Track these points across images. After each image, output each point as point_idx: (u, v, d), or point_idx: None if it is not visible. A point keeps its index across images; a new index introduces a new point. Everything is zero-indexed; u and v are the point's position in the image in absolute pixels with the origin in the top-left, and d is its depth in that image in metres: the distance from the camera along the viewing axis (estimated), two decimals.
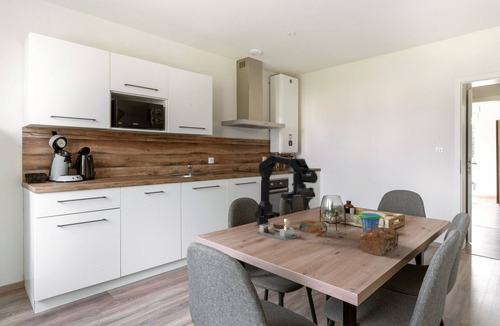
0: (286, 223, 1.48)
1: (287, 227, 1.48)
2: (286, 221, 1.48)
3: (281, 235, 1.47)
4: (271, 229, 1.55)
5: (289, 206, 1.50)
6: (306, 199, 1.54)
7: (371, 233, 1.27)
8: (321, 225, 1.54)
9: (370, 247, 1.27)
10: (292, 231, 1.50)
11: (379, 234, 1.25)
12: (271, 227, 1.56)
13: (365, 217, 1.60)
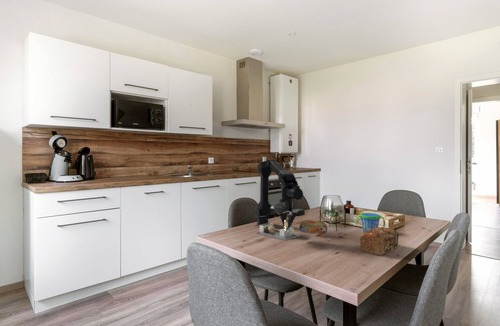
0: (286, 223, 1.48)
1: (287, 227, 1.48)
2: (286, 221, 1.48)
3: (281, 235, 1.47)
4: (271, 229, 1.55)
5: None
6: None
7: (371, 233, 1.27)
8: (321, 225, 1.54)
9: (370, 247, 1.27)
10: (292, 231, 1.50)
11: (379, 234, 1.26)
12: (271, 227, 1.56)
13: (365, 217, 1.60)
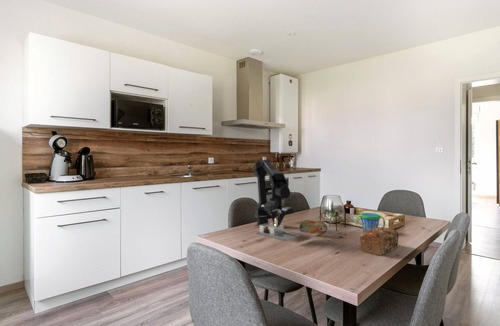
0: (276, 221, 1.53)
1: (277, 225, 1.53)
2: (276, 219, 1.53)
3: (271, 232, 1.51)
4: None
5: None
6: None
7: (371, 233, 1.28)
8: (321, 225, 1.54)
9: (369, 247, 1.28)
10: (282, 229, 1.55)
11: (379, 234, 1.26)
12: None
13: (365, 217, 1.60)
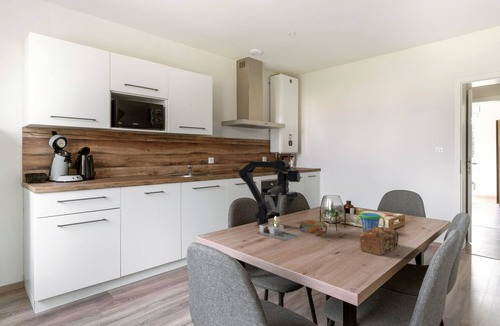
0: (276, 221, 1.53)
1: (277, 225, 1.53)
2: (276, 219, 1.53)
3: (271, 232, 1.51)
4: None
5: None
6: None
7: (370, 233, 1.28)
8: (321, 225, 1.54)
9: (369, 247, 1.28)
10: (282, 229, 1.55)
11: (378, 234, 1.26)
12: None
13: (365, 217, 1.60)
